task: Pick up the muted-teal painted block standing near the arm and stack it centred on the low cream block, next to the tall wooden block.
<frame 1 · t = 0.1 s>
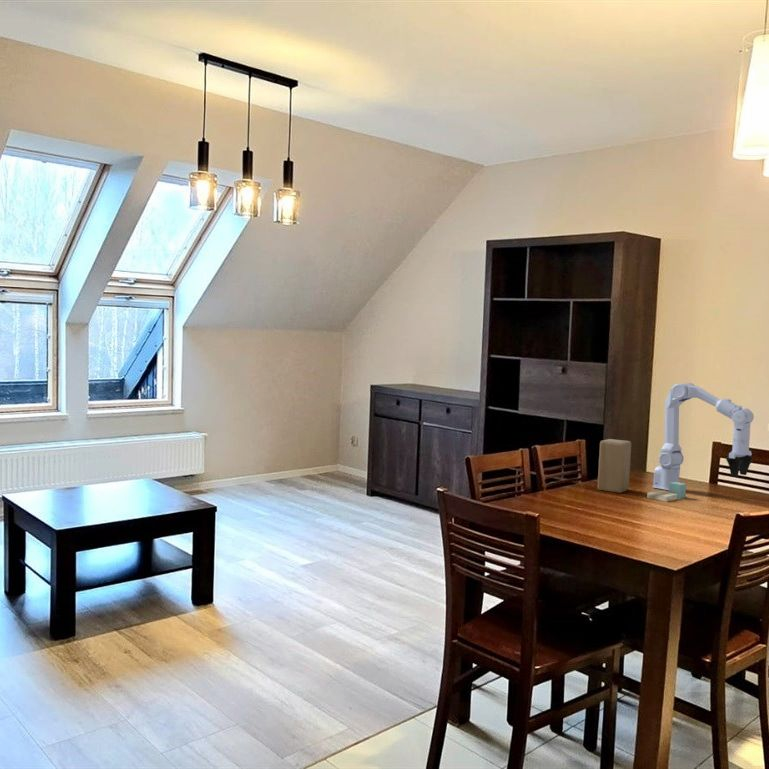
hand: (738, 475, 294), 10 cm above the table, fingers open, 7 cm apart
teal block: (677, 497, 300), on the table
cream block: (662, 498, 296), on the table
wooden block: (612, 490, 309), on the table
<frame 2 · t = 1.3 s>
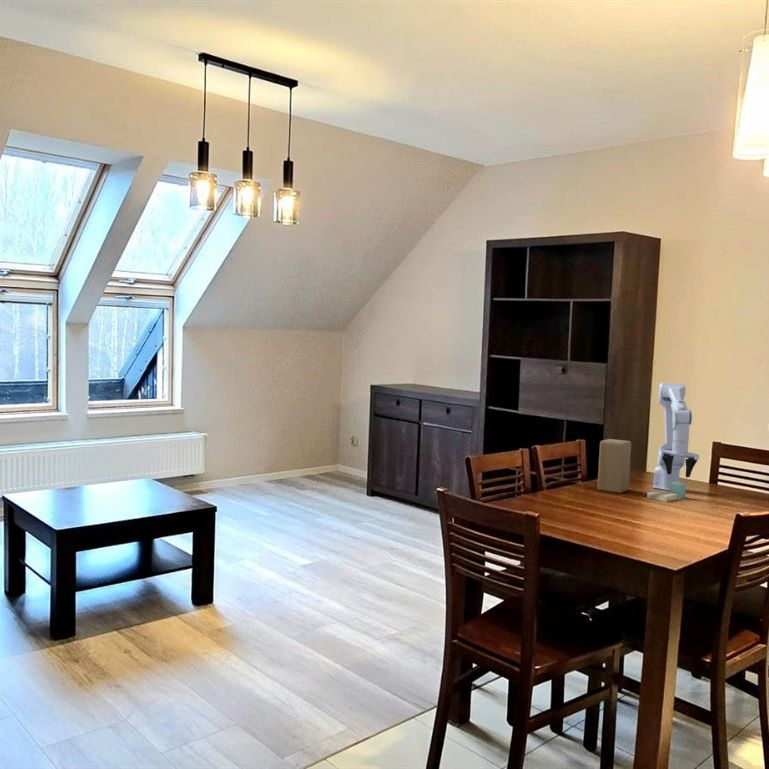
hand: (678, 475, 299), 8 cm above the table, fingers open, 7 cm apart
nothing on the table moved.
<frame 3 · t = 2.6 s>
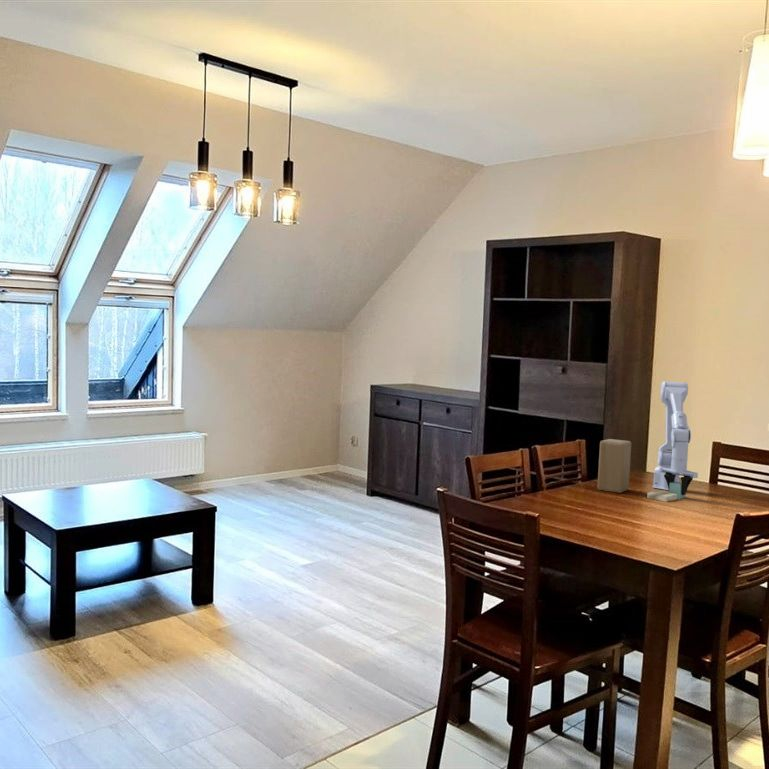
hand: (677, 493, 299), 1 cm above the table, fingers closed on teal block, 4 cm apart
teal block: (677, 497, 300), on the table, touching gripper
everything else where it was.
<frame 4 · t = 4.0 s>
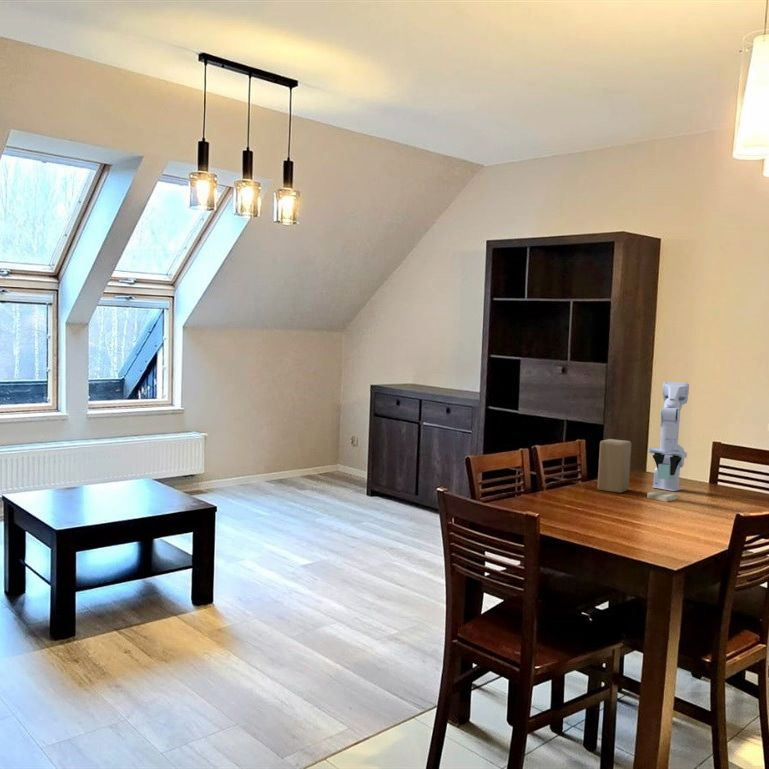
hand: (666, 473, 296), 10 cm above the table, fingers closed on teal block, 4 cm apart
teal block: (666, 478, 296), point 8 cm above the table, touching gripper
everything else where it was.
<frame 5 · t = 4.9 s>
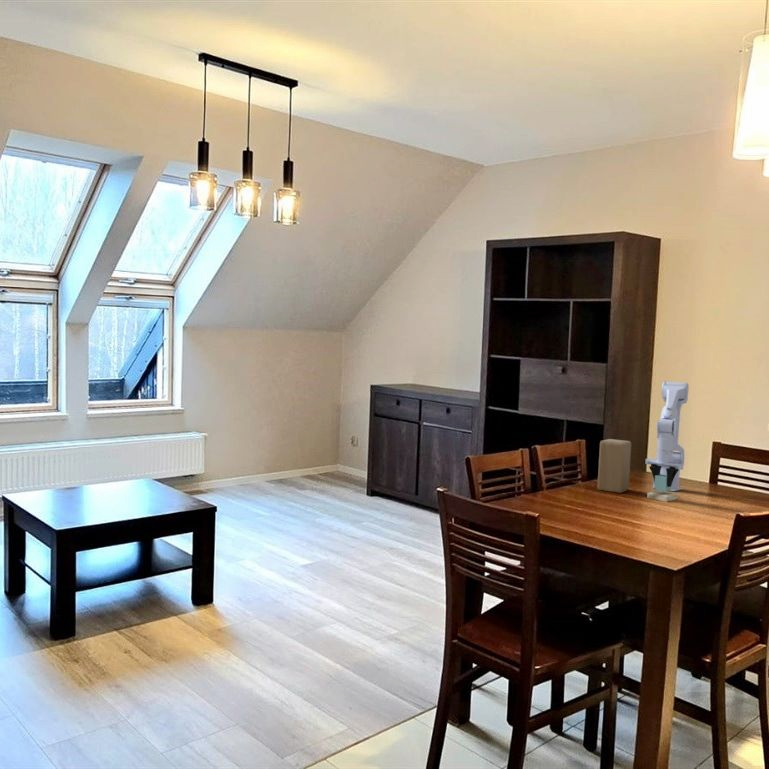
hand: (662, 485, 295), 5 cm above the table, fingers closed on teal block, 4 cm apart
teal block: (662, 489, 295), point 3 cm above the table, touching gripper
everything else where it was.
when the fingers open (5 cm above the table, at t = 5.5 s): teal block stays where it is, resting on cream block.
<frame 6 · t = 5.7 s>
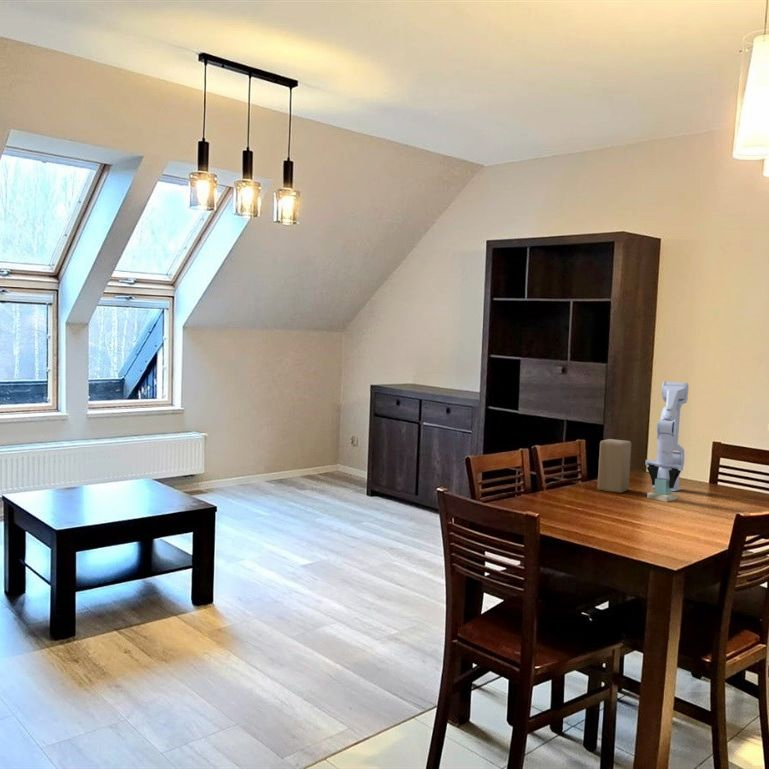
hand: (662, 486, 295), 5 cm above the table, fingers open, 6 cm apart
teal block: (662, 493, 296), point 2 cm above the table, touching cream block
everything else where it was.
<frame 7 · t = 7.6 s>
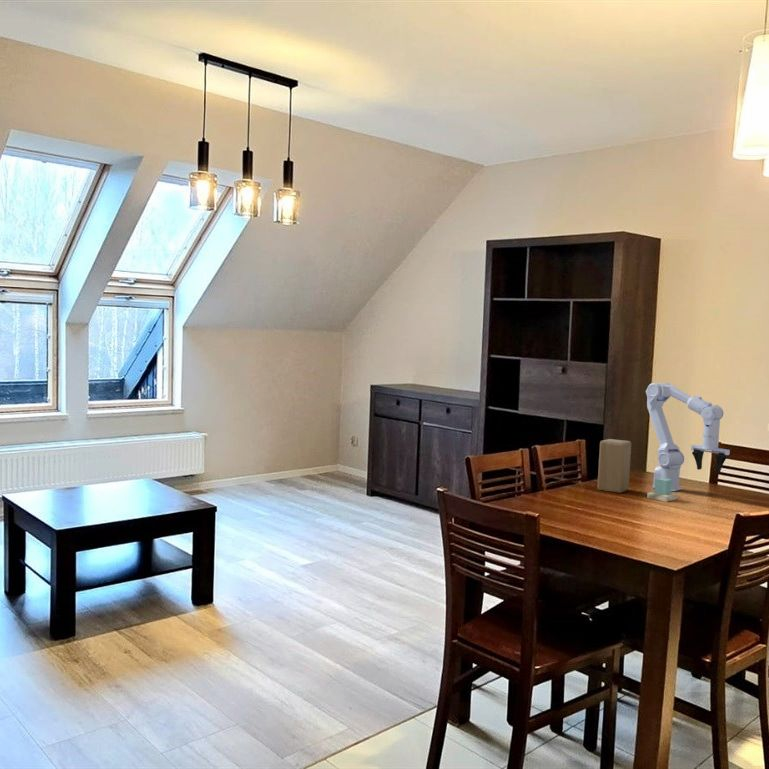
hand: (708, 470, 301), 10 cm above the table, fingers open, 7 cm apart
nothing on the table moved.
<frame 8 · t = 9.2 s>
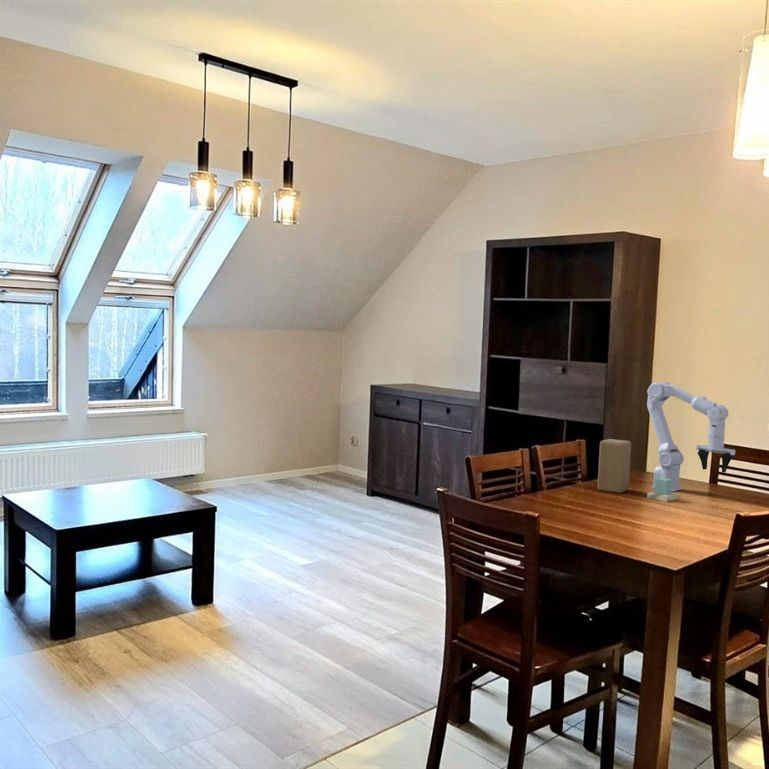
hand: (714, 470, 302), 10 cm above the table, fingers open, 7 cm apart
nothing on the table moved.
at the end: teal block 0.1 cm off-centre on the cream block, point 2.0 cm above the cream block's base; teal block tilted 0°; the gripper is holding nothing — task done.
